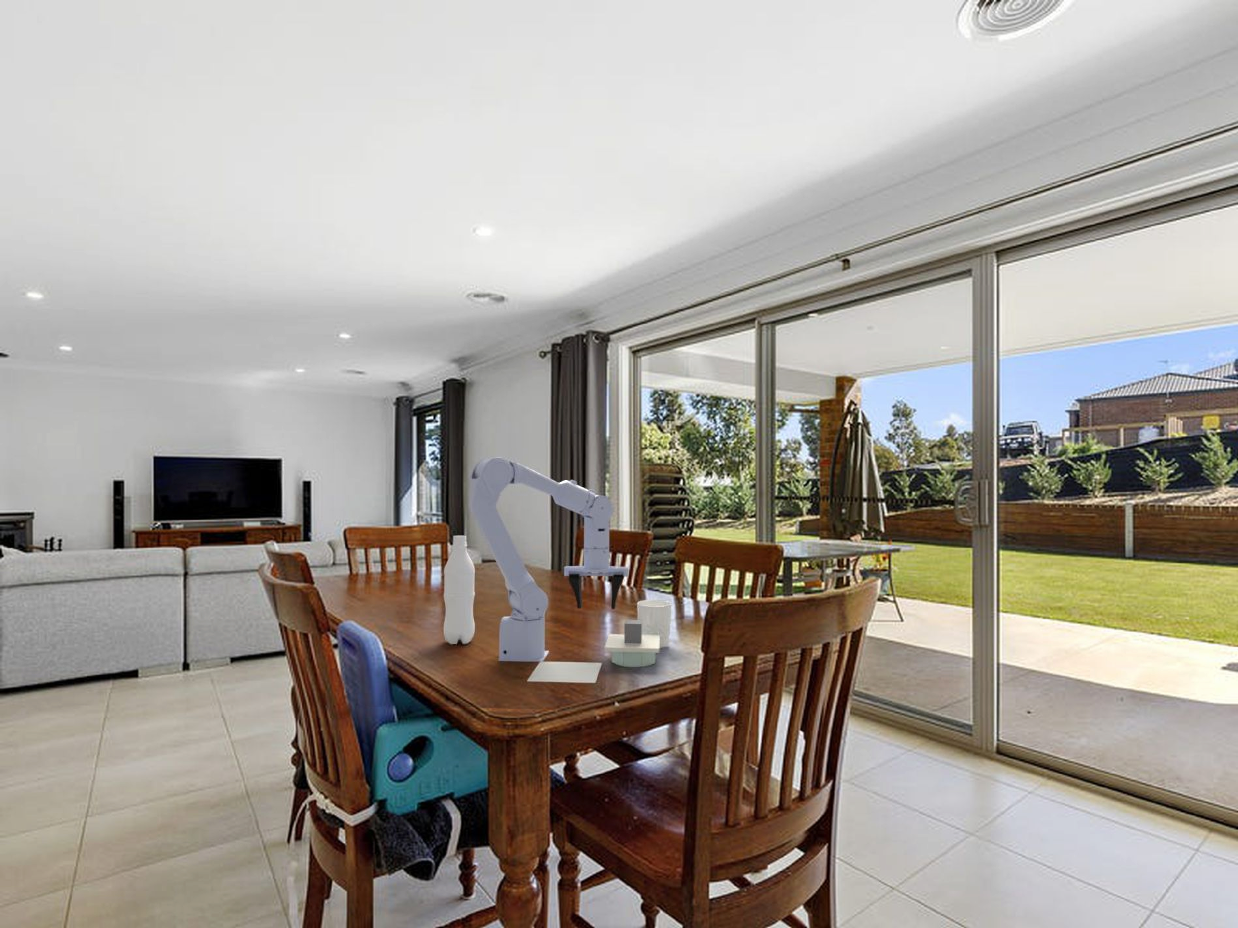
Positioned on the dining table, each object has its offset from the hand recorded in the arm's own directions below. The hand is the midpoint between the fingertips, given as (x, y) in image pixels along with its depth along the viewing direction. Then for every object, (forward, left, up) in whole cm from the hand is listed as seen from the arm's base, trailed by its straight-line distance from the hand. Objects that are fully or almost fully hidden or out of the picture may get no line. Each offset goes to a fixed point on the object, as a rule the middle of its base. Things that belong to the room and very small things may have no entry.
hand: (596, 607), depth 147 cm
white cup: (+13, +4, -10) cm, 17 cm away
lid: (+9, -10, -6) cm, 15 cm away
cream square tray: (-4, -19, -9) cm, 21 cm away
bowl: (+9, -10, -10) cm, 16 cm away
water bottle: (-33, +4, -10) cm, 35 cm away
